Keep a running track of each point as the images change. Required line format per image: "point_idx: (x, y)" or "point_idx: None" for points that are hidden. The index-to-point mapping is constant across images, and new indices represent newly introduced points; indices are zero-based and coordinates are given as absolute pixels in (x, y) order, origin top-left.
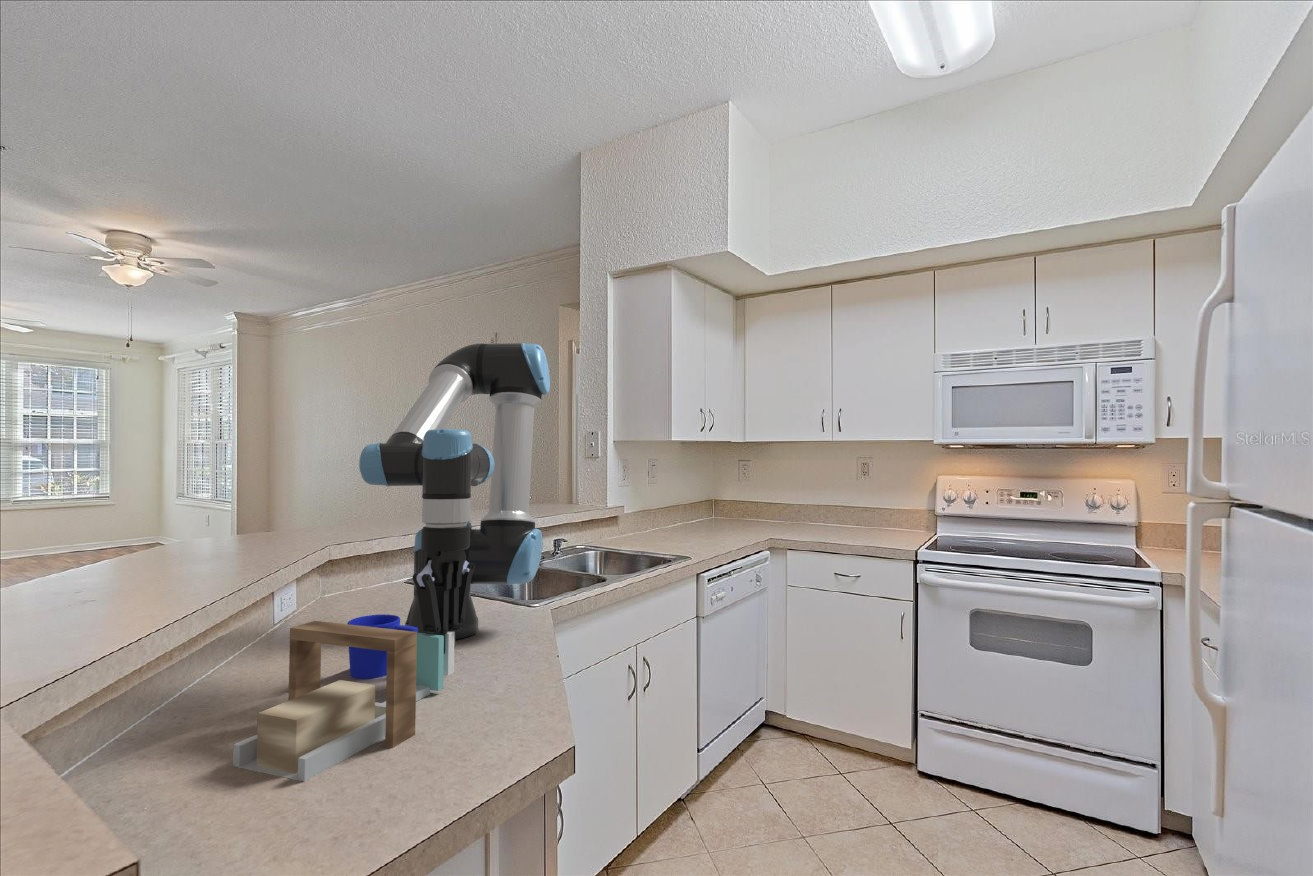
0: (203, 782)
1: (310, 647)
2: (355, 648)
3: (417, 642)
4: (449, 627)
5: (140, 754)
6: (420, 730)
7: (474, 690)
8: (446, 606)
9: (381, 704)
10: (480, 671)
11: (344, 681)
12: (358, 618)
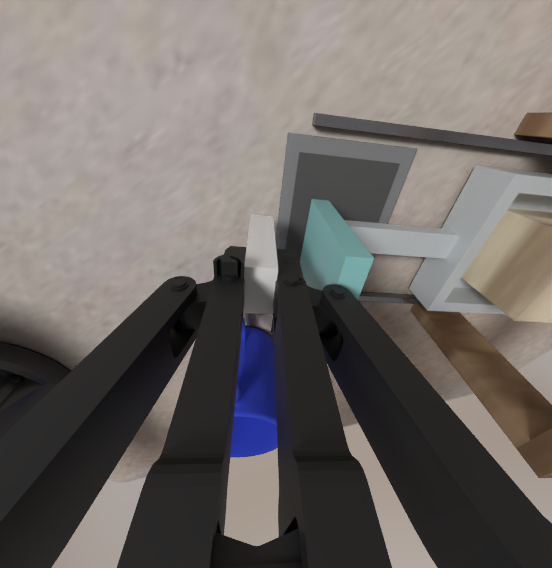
0: None
1: (530, 413)
2: None
3: None
4: (243, 292)
5: (457, 380)
6: (452, 147)
7: (229, 158)
8: (300, 355)
9: (482, 234)
10: (121, 213)
11: (529, 309)
12: (233, 454)
